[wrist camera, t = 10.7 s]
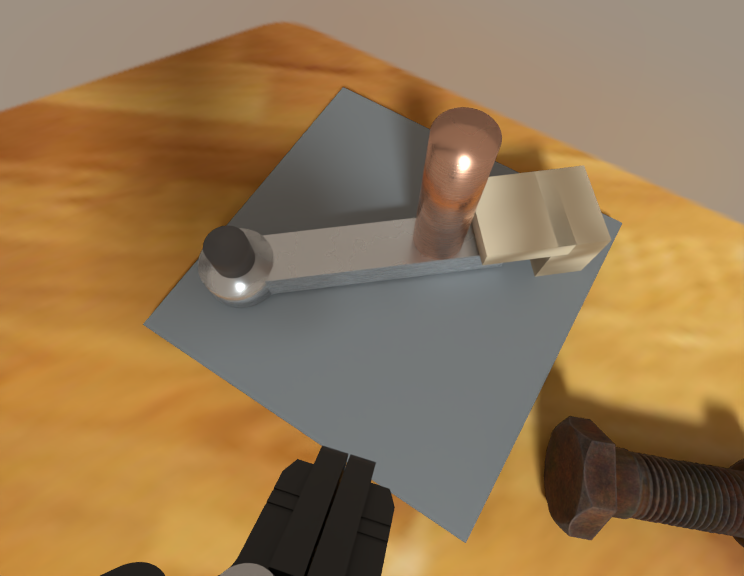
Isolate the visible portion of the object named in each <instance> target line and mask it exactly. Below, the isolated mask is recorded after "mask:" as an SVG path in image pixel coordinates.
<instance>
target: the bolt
mask: <svg viewBox="0 0 744 576" xmlns="http://www.w3.org/2000/svg"><path fill="white" fill-rule="evenodd" d="M544 484H545V492H546V499H547V503H548V508H549V512H550V514H551V517H552V518H553V520H554V521H555V522H556V524H557V525H558V526H559V527H560V528H561V529H562V530H563V531H564V532H565V533H566V534H567V535H569V536H571V537H577V538H582V539H587V540H592V539H593V538H594V537H595V536H596V534H597V533H598V532H599V531H600V530H601V529H602V528H603V526H604V525H605V524H606V523H607V522H608V521H609V520H610V518H611V517H616V518H621V519H628V518H635V519H638V520H639V519H640V520H643V521H649V522H654V523H662V524H668V525H671V526H677V527H683V528H689V529H696V530H701V531H705V532H707V531H708V532H710V533H718V534H724V535H730V536H733V537H734V539H735V540H736V541H737V542H738V543H739V544H740V545H741V546H743V547H744V459H742V460H740V461H738V462H737V463H735V464H734V465H733V466H731V467H730V468H729V469H727V468H721V467H717V466H711V465H705V464H698V463H692V462H686V461H678V460H672V459H667V458H662V457H657V456H653V455H647V454H641V453H635V452H630V451H628V450H626V449H623V448H618V447H615V444H614V443H613V442H612V441H611V440H610V439H609V438H608V437H607V436H606V435H605V434H604V433H603V432H602V431H601V430H600V429H599V428H598V427H597V426H596V425H595V424H594V423H593V422H592V421H591V420H590V419H584V418H578V417H572V416H569V417H568V418H566V419H565V420H563V421H562V422H561V423H560V424H558V425H557V426H556V427H555V429H554V430H553V432H552V434H551V438H550V441H549V445H548V448H547V453H546V458H545V470H544Z"/></svg>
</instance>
